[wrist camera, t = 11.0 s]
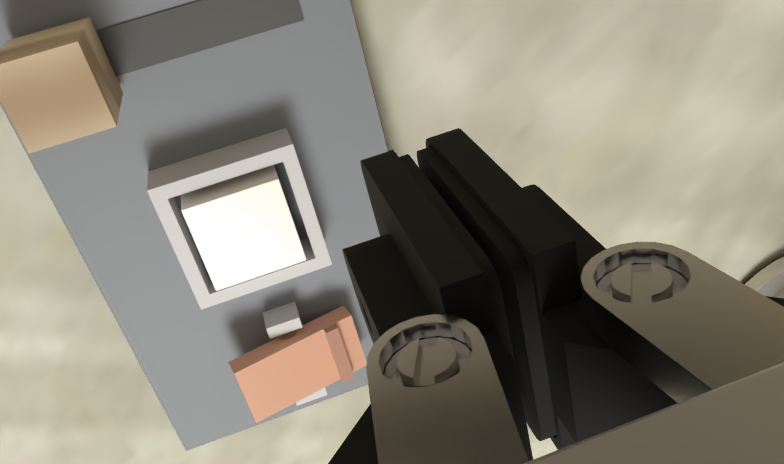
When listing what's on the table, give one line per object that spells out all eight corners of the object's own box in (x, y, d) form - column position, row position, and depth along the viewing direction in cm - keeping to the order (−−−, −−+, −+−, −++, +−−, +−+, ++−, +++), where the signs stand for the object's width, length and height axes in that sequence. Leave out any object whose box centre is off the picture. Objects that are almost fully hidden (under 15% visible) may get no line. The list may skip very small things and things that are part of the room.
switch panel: (426, 331, 41) (452, 381, 37) (185, 418, 39) (187, 479, 36) (307, -128, 29) (328, -125, 25) (-48, -31, 27) (-84, -11, 23)
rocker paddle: (355, 349, 37) (370, 369, 36) (247, 405, 36) (259, 428, 34) (339, 300, 36) (354, 319, 34) (225, 356, 34) (236, 378, 32)
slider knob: (123, 92, 28) (116, 126, 25) (45, 116, 28) (28, 153, 24) (89, 16, 27) (77, 41, 23) (7, 40, 26) (-17, 68, 23)
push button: (298, 234, 33) (306, 260, 31) (213, 263, 33) (216, 290, 31) (271, 157, 31) (278, 178, 29) (180, 186, 31) (181, 210, 29)
